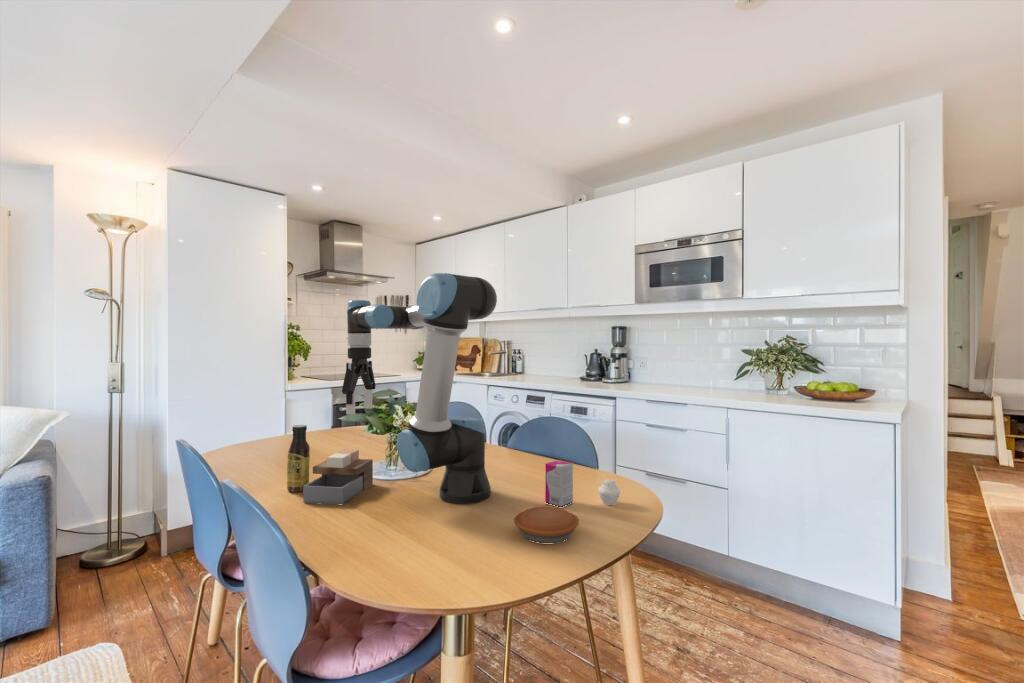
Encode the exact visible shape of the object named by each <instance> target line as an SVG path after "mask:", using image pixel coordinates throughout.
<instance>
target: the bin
mask: <svg viewBox="0 0 1024 683" xmlns="http://www.w3.org/2000/svg"><path fill="white" fill-rule="evenodd" d="M361 491H362V492H363V491H364V490H363V476H359V475H333V474H325V475H323V476H322V475H321V476H320V477H318V478H315V479H314V480H311V481H309V483H308V484H306V485H304V486H303V491H302V492H303V493H302V496H303V499H302V500H303V501H302V502H307V503H306V504H313V503H321V504H320V505H331V504H342V505H341V506H344V505H345V504H346V502H347V501H348V502H349V501H351V500H352V499H353V497H354V496H355V497H357V496H358V495H359V494H361V493H362V492H361ZM360 492H361V493H360ZM358 493H359V494H358ZM357 494H358V495H357ZM356 495H357V496H356ZM355 497H354V498H355ZM351 498H352V499H351ZM350 499H351V500H350ZM348 502H347V503H348ZM344 503H345V504H344ZM343 504H344V505H343Z"/></svg>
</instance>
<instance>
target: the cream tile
mask: <svg viewBox="0 0 1024 683" xmlns="http://www.w3.org/2000/svg"><path fill="white" fill-rule="evenodd" d="M326 460H327V467H332V468H343V467H345V466H347V465H349V464H351V454H341V453H337V452H336V453H333V454H331V455H329V456H327V457H326Z"/></svg>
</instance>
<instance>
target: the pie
mask: <svg viewBox="0 0 1024 683" xmlns="http://www.w3.org/2000/svg"><path fill="white" fill-rule="evenodd" d="M513 521H514V524H515V526H516V527H517V528H518V529H519V532H520V534H521V535H522V537H523V538H525V539H526V540H527V539H528V541H529V540H531V541H534V542H533V543H535V542H539V543H557V542H561V541H564V540H566V539H567V540H569V538H570V537H571V535H572V534H573V533H574V530H575V529H576V528H577V527H578V526H579V522H580V521H579V518H578V515H576V514H574V513H572V512H569V511H568V510H566V509H564V508H558V507H554V506H550V505H547V506H544V505H543V506H533V507H530V508H527V509H524V510H523V511H521V512H519V513H517V514H516V515H515V517H514V518H513ZM567 540H566V541H567ZM531 541H530V542H531ZM564 542H565V541H564ZM539 543H538V544H539ZM561 543H562V542H561ZM557 544H558V543H557Z"/></svg>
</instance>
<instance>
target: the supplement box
mask: <svg viewBox="0 0 1024 683" xmlns="http://www.w3.org/2000/svg"><path fill="white" fill-rule="evenodd" d="M573 468H574V463H572V462H568V461H563V460H558V459H557V460H554V461H550V462H547V463H545V468H544V469H545V476H544V477H545V482H544V483H545V488H544V490H545V491H544V492H545V493H544V494H545V496H544V497H545V498H544V499H545V501H544V502H546V503H548V504H552V505H555V506H558V507H563V506H565V505H568V504H570V503H572V502H573V501H574V497H573V496H574V489H573V488H574V486H573V485H574V478H573V476H574V469H573ZM573 503H574V502H573ZM573 503H572V504H573ZM548 504H547V505H548ZM570 505H571V504H570ZM568 506H569V505H568ZM558 507H557V508H558Z"/></svg>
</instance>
